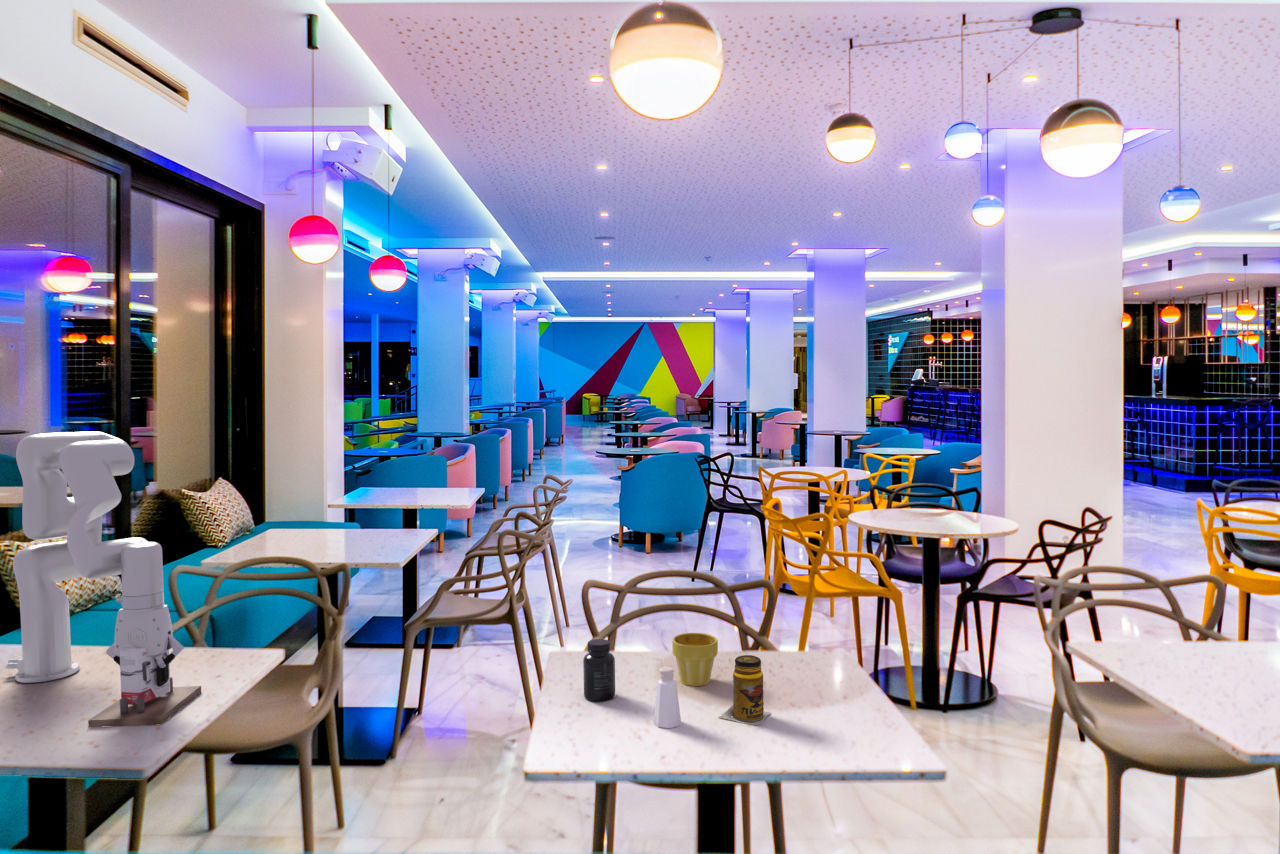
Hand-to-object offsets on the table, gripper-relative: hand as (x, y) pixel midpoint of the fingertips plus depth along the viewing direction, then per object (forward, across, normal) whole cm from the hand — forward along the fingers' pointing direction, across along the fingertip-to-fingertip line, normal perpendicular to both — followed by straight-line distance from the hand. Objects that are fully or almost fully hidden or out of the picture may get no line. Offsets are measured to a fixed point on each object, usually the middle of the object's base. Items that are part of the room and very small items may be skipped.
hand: (146, 684), depth 175 cm
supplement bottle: (+5, +96, -4) cm, 96 cm away
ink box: (+3, 0, 0) cm, 3 cm away
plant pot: (+5, +118, +3) cm, 118 cm away
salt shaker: (+5, +109, -20) cm, 111 cm away
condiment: (+5, +125, -18) cm, 127 cm away
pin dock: (+5, 0, 0) cm, 5 cm away
